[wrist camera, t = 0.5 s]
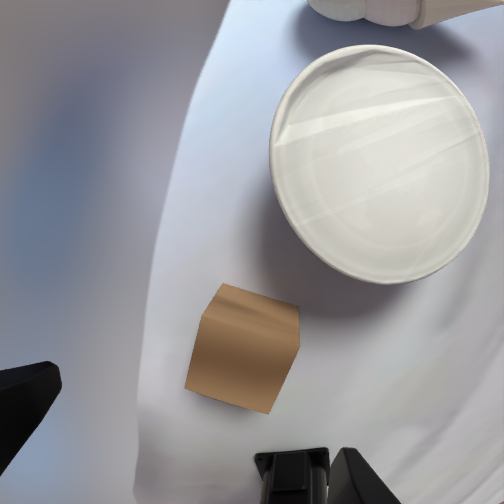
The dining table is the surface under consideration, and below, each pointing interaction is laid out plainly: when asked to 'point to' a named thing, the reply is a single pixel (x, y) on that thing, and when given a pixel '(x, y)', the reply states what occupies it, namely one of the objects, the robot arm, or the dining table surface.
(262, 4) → the dining table surface
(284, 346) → the walnut cube
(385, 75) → the ramekin
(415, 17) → the ice cream cone
